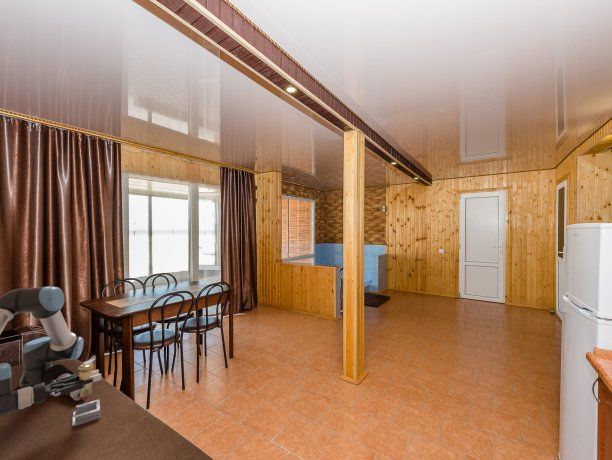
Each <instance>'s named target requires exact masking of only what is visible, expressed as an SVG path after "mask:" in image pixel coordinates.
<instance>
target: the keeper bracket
mask: <svg viewBox="0 0 612 460" xmlns="http://www.w3.org/2000/svg"><path fill="white" fill-rule="evenodd" d="M100 418H101V402H100V399H95V400H91V401H89V402H84V403H81V404H77V405H76V406H75V410H74V411H73V414H72V423H71V424H72V425H71V426H72V427H76V426H80V425H83V424H86V423H89V422H93V421H95V420H98V419H100Z"/></svg>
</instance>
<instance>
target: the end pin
mask: <svg viewBox="0 0 612 460" xmlns="http://www.w3.org/2000/svg"><path fill="white" fill-rule="evenodd" d="M93 367H94V364H93V363H92V362H87V363H82V364H80V365H78V367H77V372H78V374H79V381H81V380H84V378H88V377H91V376H92V371H93V370H92V369H93ZM92 384H93V383H90V384H87V385H84V388H82V389H80V397H85V396H88V397H89V396H90V395H92V394H93V385H92Z"/></svg>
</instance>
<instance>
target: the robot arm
mask: <svg viewBox="0 0 612 460" xmlns="http://www.w3.org/2000/svg"><path fill="white" fill-rule="evenodd" d="M64 304H65V295H64V292H63V290H62V289H61V288H60V287H57V286H41V287H39V286H38V287H26V288H25V287H20V288H15V289H12V290H10V291H8V292H6V293H5V294H4V293H3V295H1V296H0V335H1V334H2V332H3V331H4V329H5V327H6V325H7V323H8V322H9V321H11V320H13V319H14V317H15V315H18V314H26V313H30V315H32V317H33V319H34V318H35V319H37V320H39V321H40V323H41V325H42V327H43V329H44V330H45V332H46V334H47V336H44V337H39V338H36V339H33V340H31V341H28V342H27V343H25V344H24V345H23V350H22V355H23V356H22V359H23V362H22V363H23V373H22V375H21V377H20V379H19V388H20V389H17V390H12V388H13V387H12V381H13V380H12V377H13V373H12V366H11V364H9V363H8V362H1V363H0V417H1V416H3V415H7V414H10V413H12V412H16V411H19V410H24V409H25V408H28V407H30V406H32V404H33V405H37V404H41V403H44V402H45V401H46V400H47V399H46V398H47V397H53V398H54V399H56V398H59V397H61V396H64V395H67V393H70V392H73V391H76V390H79V389H82V388H84V385H87V384H90V383H92V384H93V383H95V382H99V381H102V373H100V370H99V369H95V370H92V376H91V377H88V378H84V380H81V381H79V373H74V375H71V376H67V377H64V378H60V379H56V380H52V381H51V384H47V383H45V382H44V380H43V376H44V374H45V372H46V371H47V370H48V369H49V368H50V367H52V366H54V365H53V362H62V361H71V360H76V359H78V358H79V357H80V356H81V354H82V352H83V349H84V342H85V341H84V338H83V337H82V336H77V335H76V334H75V333H74V332H71V331H70V328H69V326H68V324H67V322H66V320H65V318H64V316H63V313H62V311H61V309H62V308H63V306H64Z"/></svg>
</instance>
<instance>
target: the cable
mask: <svg viewBox="0 0 612 460" xmlns="http://www.w3.org/2000/svg"><path fill="white" fill-rule="evenodd" d="M74 374H75V373H74V372H73V371H71V369H69V368H67V366H65V365H63V364H61V363H60V364H59V363H57V364H54V365H53V366H52V367H50V368H49V369H48V370H47V371H46V372H45V374H44V376H43V380H44V382H45V383H47V384H46V385H48V384H51V381H52V380H56V379H60V378H64V377H67V376H71V375H74ZM66 395H67V396H68V397H70V398H72V399H73V400H74V401H80V400H83V401H87V400H88V398H89V395H88V396H85V397H80V389H79V390H76V391H73V392H70V393H67V394H66Z"/></svg>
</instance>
